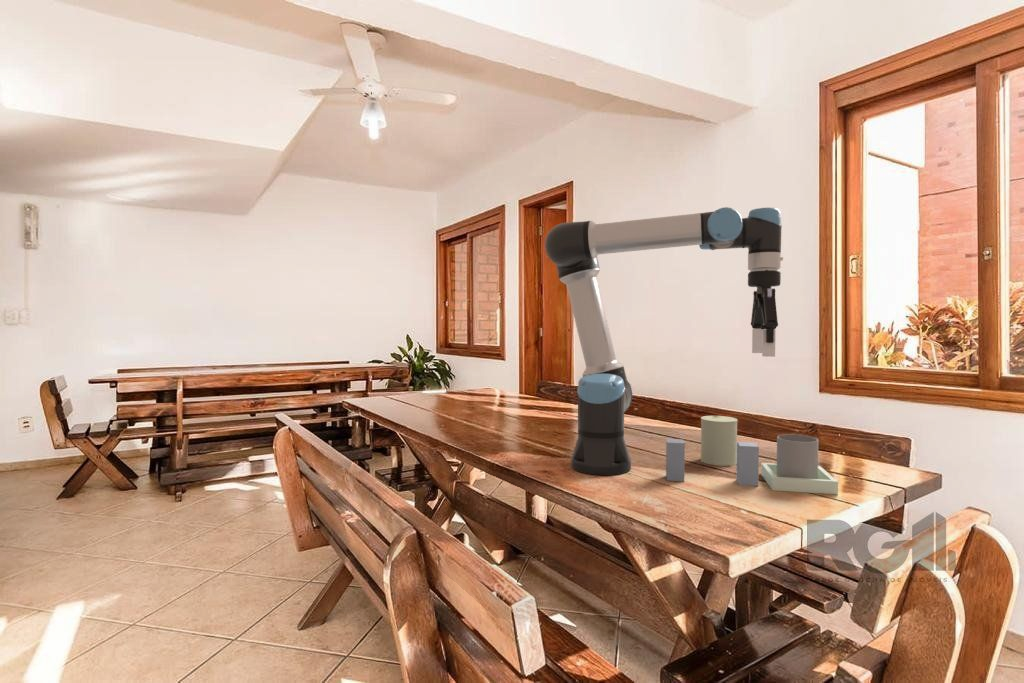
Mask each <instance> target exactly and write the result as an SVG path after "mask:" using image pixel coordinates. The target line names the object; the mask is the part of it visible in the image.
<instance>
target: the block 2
mask: <svg viewBox="0 0 1024 683" xmlns="http://www.w3.org/2000/svg"><path fill="white" fill-rule="evenodd" d="M759 449H760V447H759V445H758V444H757V443H756V442H747V441H746V442H744V441H743V442H742V441H741V442H740V441H737V464H736V481H737V483H738V486H750V487H751V486H752V487H759V462H760V461H759V457H760V456H759V455H760V454H759V453H760V452H759V451H760V450H759Z"/></svg>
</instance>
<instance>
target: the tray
mask: <svg viewBox="0 0 1024 683" xmlns="http://www.w3.org/2000/svg"><path fill="white" fill-rule="evenodd" d="M776 470H777V463H773V462H761V463H760V475H761V477H762V478H763V479H764V481H766V483H767V485H768V486H769V488H770V489H771V490H772V491H776V492H777V491H778V492H779V491H780V492H781V491H782V492H792V493H796V492H797V493H811V494H825V495H839V481H838V480H837V479H836V478H835V477H834V476H832V474H830V473H829V472H828V471H826V470H825V469H824V467H822V466H821V465H818V479H806V478H789V477H776Z"/></svg>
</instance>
